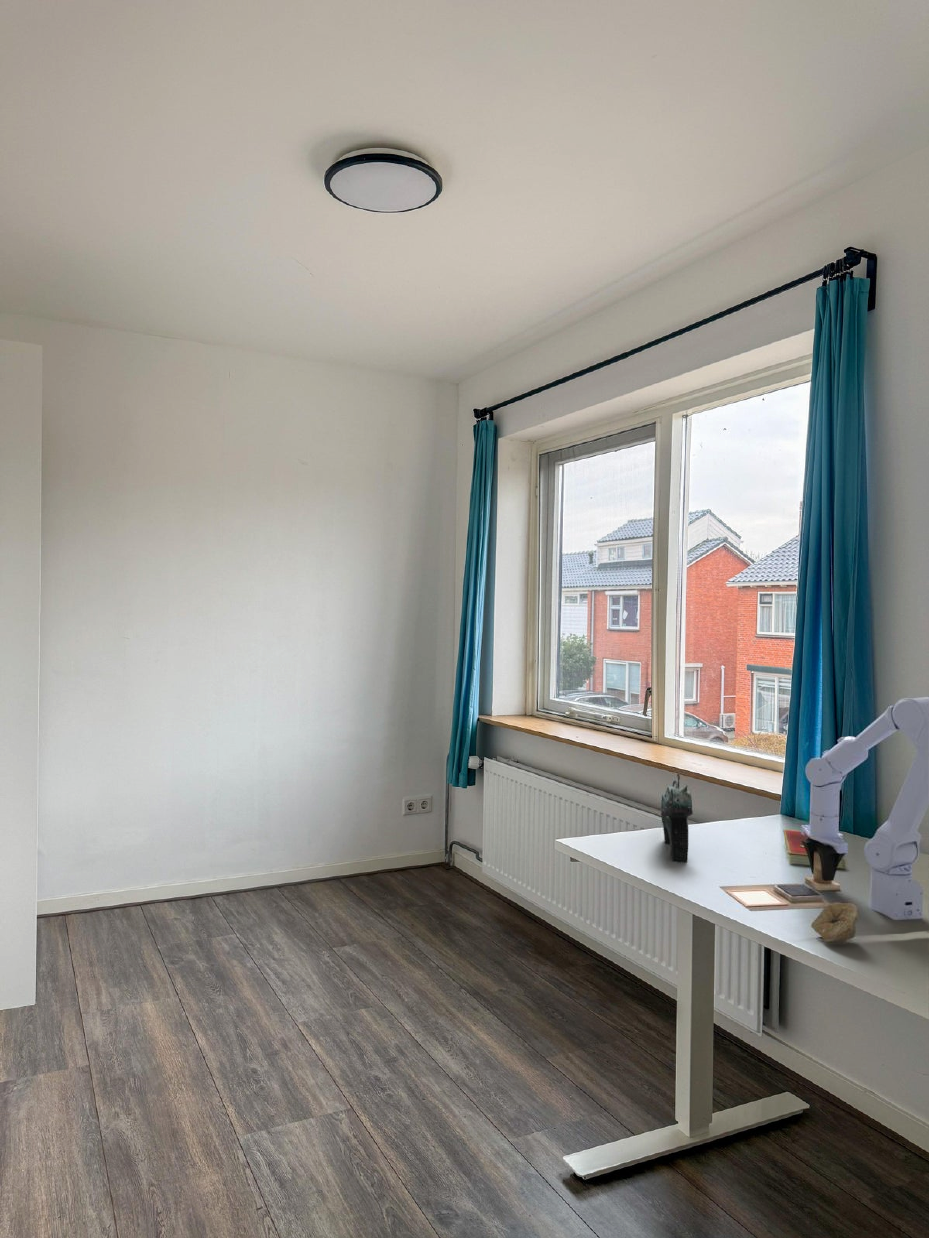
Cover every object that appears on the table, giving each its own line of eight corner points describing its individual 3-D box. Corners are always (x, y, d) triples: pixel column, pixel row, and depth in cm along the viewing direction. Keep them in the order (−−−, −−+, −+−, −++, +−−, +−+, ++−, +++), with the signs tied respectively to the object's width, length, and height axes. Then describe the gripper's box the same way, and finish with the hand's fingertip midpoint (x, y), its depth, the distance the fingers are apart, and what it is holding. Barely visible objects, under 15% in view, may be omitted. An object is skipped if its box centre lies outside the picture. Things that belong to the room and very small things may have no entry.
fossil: (829, 896, 164) (864, 903, 154) (844, 913, 164) (880, 921, 154) (801, 932, 161) (836, 941, 151) (816, 949, 161) (852, 959, 152)
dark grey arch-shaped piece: (693, 864, 200) (695, 779, 199) (664, 863, 201) (666, 778, 200) (681, 840, 220) (683, 762, 219) (655, 839, 220) (657, 761, 220)
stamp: (839, 894, 182) (840, 856, 181) (817, 894, 181) (818, 857, 181) (826, 886, 187) (827, 849, 186) (804, 886, 186) (806, 850, 186)
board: (835, 911, 171) (835, 906, 171) (750, 915, 168) (750, 910, 168) (797, 887, 185) (797, 883, 185) (718, 891, 182) (718, 886, 182)
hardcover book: (833, 849, 216) (834, 832, 215) (844, 875, 195) (845, 857, 195) (782, 844, 219) (783, 828, 219) (788, 869, 199) (788, 851, 199)
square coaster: (788, 905, 172) (788, 904, 172) (745, 906, 170) (745, 905, 170) (765, 889, 181) (765, 888, 181) (725, 891, 179) (725, 890, 179)
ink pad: (823, 900, 175) (823, 894, 175) (791, 902, 174) (791, 896, 173) (804, 888, 182) (804, 883, 181) (773, 890, 180) (773, 884, 180)
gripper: (862, 822, 177) (860, 887, 177) (822, 804, 191) (820, 865, 191) (830, 823, 176) (828, 888, 176) (793, 805, 190) (791, 866, 190)
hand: (822, 876), depth 184 cm, fingers closed on stamp, 4 cm apart
